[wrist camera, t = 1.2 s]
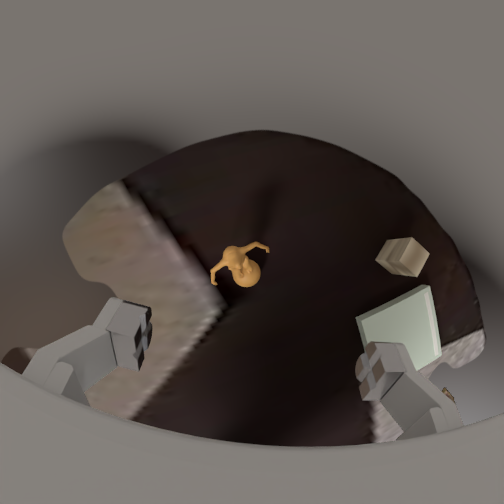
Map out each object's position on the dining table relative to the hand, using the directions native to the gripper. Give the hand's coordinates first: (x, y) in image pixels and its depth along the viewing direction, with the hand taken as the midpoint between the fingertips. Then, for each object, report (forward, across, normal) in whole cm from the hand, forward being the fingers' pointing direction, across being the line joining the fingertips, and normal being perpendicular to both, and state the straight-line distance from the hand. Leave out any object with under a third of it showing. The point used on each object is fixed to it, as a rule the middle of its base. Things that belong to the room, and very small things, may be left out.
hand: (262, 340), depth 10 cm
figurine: (+30, 0, -15) cm, 33 cm away
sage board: (+25, +29, -21) cm, 43 cm away
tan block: (+31, +24, -10) cm, 40 cm away
